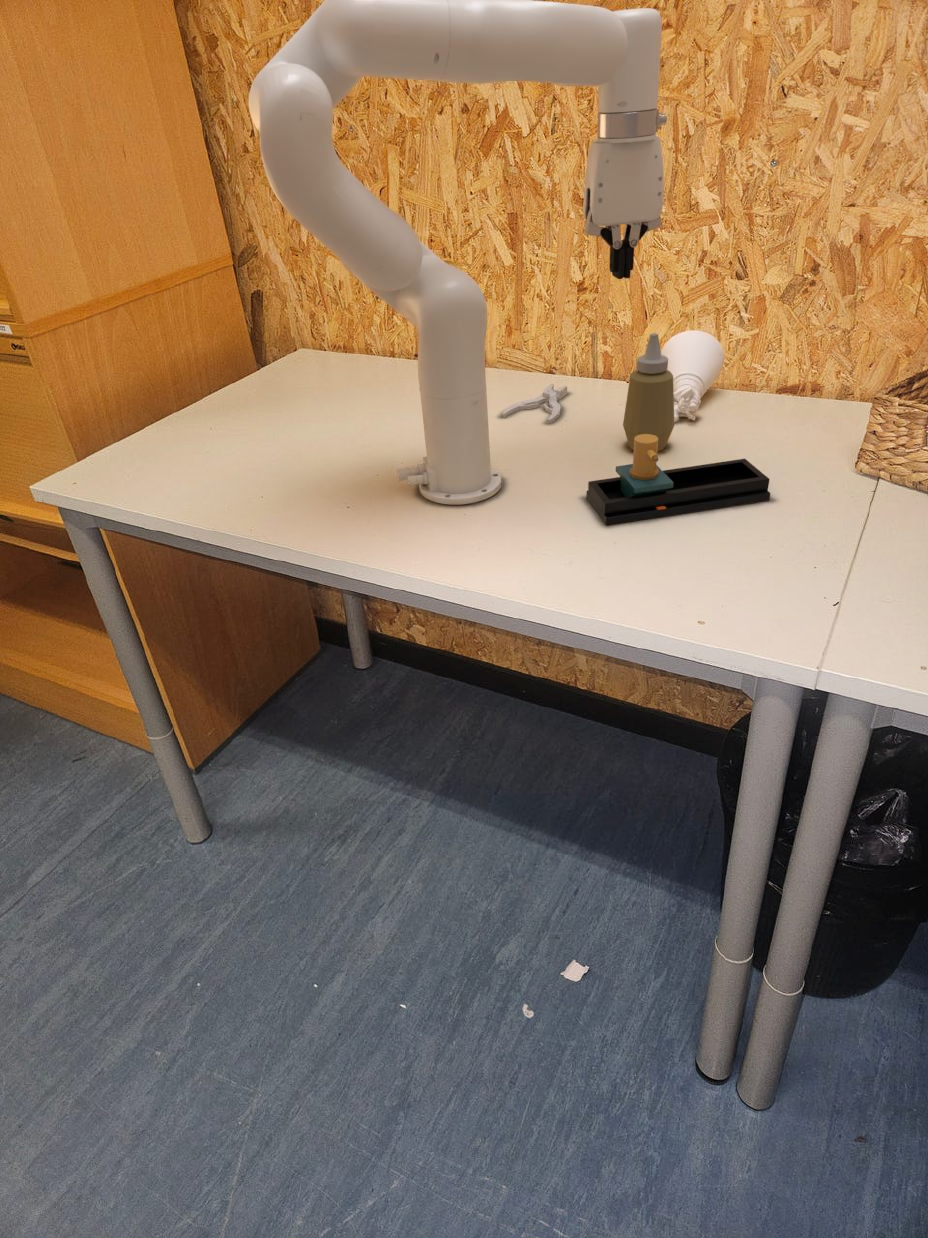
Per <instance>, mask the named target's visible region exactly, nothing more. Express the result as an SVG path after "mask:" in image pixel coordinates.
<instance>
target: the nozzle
mask: <svg viewBox="0 0 928 1238" xmlns="http://www.w3.org/2000/svg"><path fill="white" fill-rule="evenodd" d="M657 449H658V437H657V436H655V435H651V434H641V435H637V436H636V437H635V438H634V450H633V453H632V454H633V455H632V463H629V464H623V465H616V466H615V472H616V473H617V475H618V477H621V485H620V490H621V492H622V493H623V494H624V495H625V497H631V496H637V495H644V494H651V493H657V492H664V491H667V488H673V482H672V480H671V479H670V478H669V477H668V476H667V475H666V474H665V473H664V472H663V471H664V470H662V469H661V468H660V467H659V465H657V462H659V455H658V451H657Z"/></svg>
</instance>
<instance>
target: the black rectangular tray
mask: <svg viewBox="0 0 928 1238" xmlns="http://www.w3.org/2000/svg"><path fill="white" fill-rule="evenodd" d="M662 471H663V472H664V473H665V474H666V475H667V476H668V477H669V478H670V479H671V480H672V482H673V488H667V491H664V492H657V493H651V494H644V495H637V496H631V497H625V495H624V494H623V493H622V492H621V490H620V485H621V477H620V476H617V477H610V478H603V479H595V480H590V481H588V484H587V485H588V487H587V490H586V497H585V498H586V500H587V501H588V502H589V503H590V505H591V507H593V509H594V510H595V512H596V513H597V515H598V516H599V517H600V519H601V520H602V522H603V523H604V524H605V526H612V525H619V524H625V523H631V522H638V521H643V520H649V519H657V518H663V517H671V516H676V515H683V514H690V513H697V512H704V511H710V510H717V509H722V508H723V509H724V508H728V507H736V506H741V505H742V506H743V505H749V504H755V503H761V502H768V501H770V498H771V492H770V491H768V490H769V485H770V478H769V477H768V476H767V475H766V474H765V473H763V472H762V471H761V470H759V469H758V468H757V467H756V466H754V465H753V464H752V463H751V462H750V461H749V460H747V459H746V458H739V459H731V460H726V461H718V462H712V463H705V464H698V465H692V466H684V467H679V468H678V467H677V468H671V469H666V470H662Z"/></svg>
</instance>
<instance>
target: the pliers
mask: <svg viewBox="0 0 928 1238" xmlns="http://www.w3.org/2000/svg"><path fill="white" fill-rule="evenodd" d="M554 387H555V385H554V383H550V384H548V386H546V388H545V389H544V390H543V392H542V396H539V397H536V398H533V399H526V400H523V401H520V402H517V403H515V404H513V405H511V406H509V407H507V408H506V409H504V411H503V412H502V413H501V418H504V419H505V418H506V417H508V416H510V415H511V414H514V413H515V412H518V411H521V410H533V409H537V408H540V405H541V404H543V408H544V411H546V412H547V413H550V415H549V416H548V418H547V419H546V423H547V424H549V425H551V423H554V422H555V421H556V420H557V419H558V418H559V417H560V415H561V404H560V403H559V402H558V401H560V400H562V398H564V397H565V396H566V395H568V385H563V386H561V387H559V388H556V389H554ZM546 403H548V406H547V405H546Z"/></svg>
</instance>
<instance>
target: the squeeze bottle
mask: <svg viewBox="0 0 928 1238" xmlns="http://www.w3.org/2000/svg"><path fill="white" fill-rule="evenodd" d="M660 344H661V343H660V338H659V333H650V334H649V337H648V340H647V344H646V348H645V352H644V355H641V356H638V357H637V359H636V370H634V371H633V372H632V373H631V374H630V375H629V381H628V387H627V396H626V402H625V409H624V415H623V423H622V426H623V430H624V433H625V437H626V440H627V444H628V447H629V449H631V450H633V451H634V438H635V437H636V436H637V435H641V434H651V435H655V436H657V437H658V449H657V452H662V450H664V449H665V448H666V447H667V444H668V442H669V439H670V437H671V434H672V432H673V430H674V427H675V422H674V392H673V375H672V373H671V372H670V371H668V370H667V368H668V358H667V357H666V356H663V355H661V351H662V349H661V345H660Z"/></svg>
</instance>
